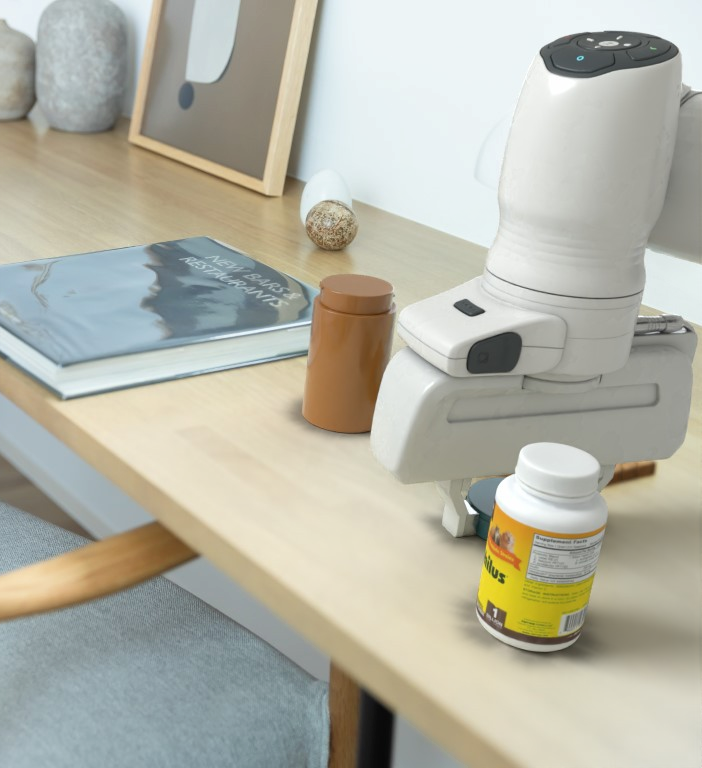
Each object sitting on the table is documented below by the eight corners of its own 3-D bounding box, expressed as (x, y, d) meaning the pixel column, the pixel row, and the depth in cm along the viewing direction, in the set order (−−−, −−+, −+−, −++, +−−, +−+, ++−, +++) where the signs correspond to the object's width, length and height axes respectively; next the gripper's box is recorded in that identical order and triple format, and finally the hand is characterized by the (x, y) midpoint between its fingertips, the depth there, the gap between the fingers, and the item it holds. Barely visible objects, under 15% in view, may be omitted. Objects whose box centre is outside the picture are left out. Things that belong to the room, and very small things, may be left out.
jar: (371, 400, 91) (387, 272, 87) (391, 433, 86) (410, 299, 82) (295, 399, 91) (308, 271, 87) (310, 432, 85) (325, 297, 81)
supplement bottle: (469, 591, 67) (499, 428, 63) (572, 605, 66) (608, 441, 62) (476, 648, 61) (508, 475, 57) (587, 664, 61) (627, 490, 57)
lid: (446, 527, 73) (450, 504, 72) (485, 489, 78) (489, 466, 77) (551, 565, 70) (557, 540, 69) (585, 522, 75) (590, 499, 74)
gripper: (667, 295, 74) (622, 488, 80) (373, 311, 69) (346, 516, 74) (739, 330, 69) (685, 535, 74) (426, 351, 63) (392, 569, 69)
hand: (513, 526), depth 74 cm, fingers closed on lid, 6 cm apart
